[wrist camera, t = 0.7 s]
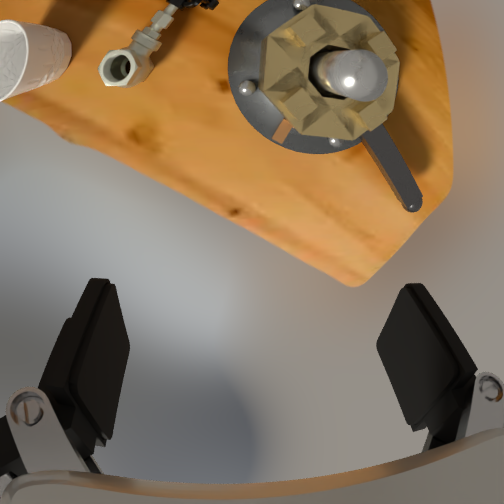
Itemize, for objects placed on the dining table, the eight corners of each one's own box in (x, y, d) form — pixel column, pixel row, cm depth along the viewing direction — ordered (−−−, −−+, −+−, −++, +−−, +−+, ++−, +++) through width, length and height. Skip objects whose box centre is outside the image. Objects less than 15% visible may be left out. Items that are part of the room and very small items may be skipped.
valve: (150, 97, 29) (220, 8, 25) (133, 105, 24) (218, -5, 19) (103, 69, 27) (169, -20, 22) (77, 72, 21) (157, -38, 16)
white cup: (46, 101, 27) (-5, 120, 19) (12, 63, 24) (-41, 73, 15) (89, 50, 25) (43, 49, 17) (52, 12, 21) (2, 4, 13)
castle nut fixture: (233, 62, 26) (235, 60, 20) (327, -5, 22) (351, -19, 17) (369, 229, 37) (392, 259, 32) (441, 173, 34) (472, 195, 28)
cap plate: (281, -34, 22) (312, -82, 11) (414, 57, 28) (490, 67, 17) (197, 101, 30) (179, 122, 19) (337, 176, 36) (384, 231, 25)
